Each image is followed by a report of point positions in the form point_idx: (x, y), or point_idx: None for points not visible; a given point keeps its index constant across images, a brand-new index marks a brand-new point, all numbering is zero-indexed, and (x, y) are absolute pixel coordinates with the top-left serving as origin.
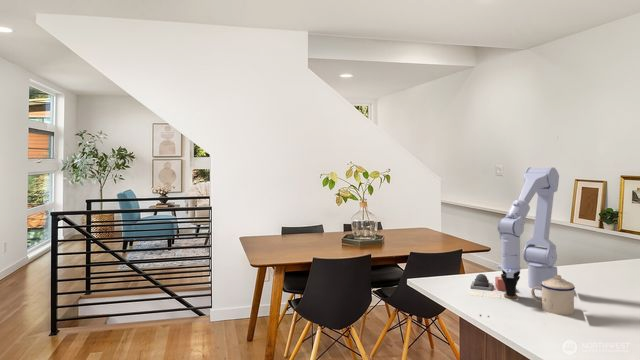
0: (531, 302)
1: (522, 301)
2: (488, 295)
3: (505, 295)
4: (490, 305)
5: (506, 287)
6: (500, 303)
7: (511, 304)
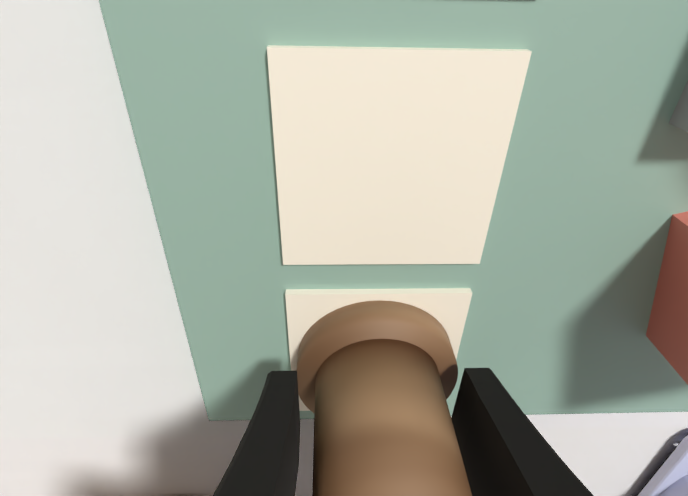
0: None
1: None
2: (362, 98)
3: (329, 339)
4: (20, 135)
5: (225, 492)
6: None
7: None
